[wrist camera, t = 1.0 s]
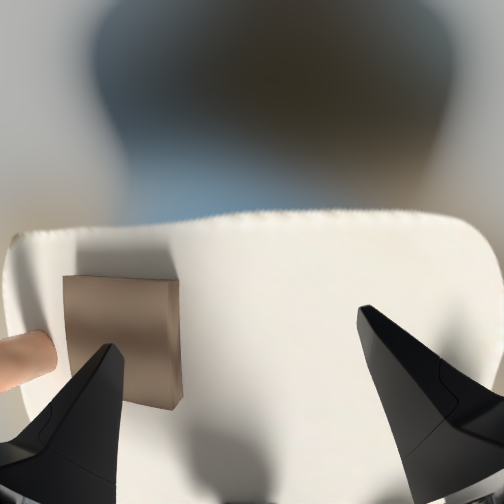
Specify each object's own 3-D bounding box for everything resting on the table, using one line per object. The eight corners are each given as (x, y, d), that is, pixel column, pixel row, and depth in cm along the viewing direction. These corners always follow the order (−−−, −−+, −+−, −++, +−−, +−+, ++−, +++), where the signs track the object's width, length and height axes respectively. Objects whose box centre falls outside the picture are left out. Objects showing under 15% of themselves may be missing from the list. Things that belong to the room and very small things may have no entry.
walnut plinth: (183, 396, 23) (172, 410, 20) (89, 377, 24) (73, 385, 21) (178, 280, 24) (165, 282, 21) (81, 275, 25) (62, 275, 22)
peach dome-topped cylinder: (60, 376, 25) (-16, 410, 12) (34, 366, 25) (-37, 391, 13) (54, 334, 25) (-30, 356, 13) (28, 326, 26) (-49, 342, 13)
